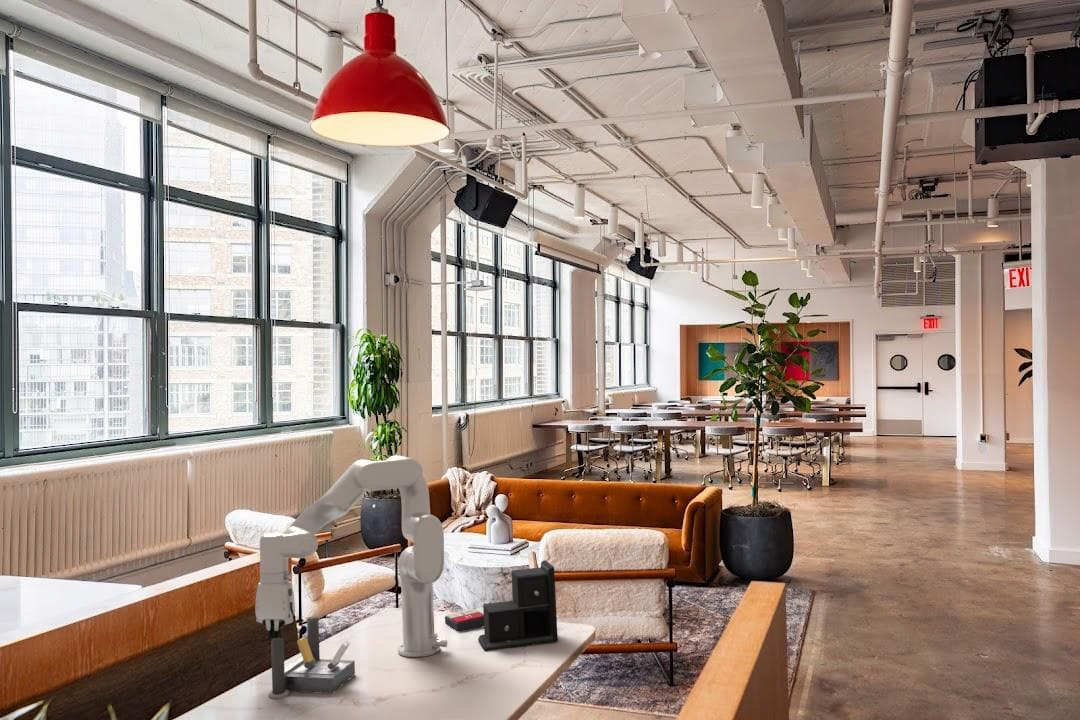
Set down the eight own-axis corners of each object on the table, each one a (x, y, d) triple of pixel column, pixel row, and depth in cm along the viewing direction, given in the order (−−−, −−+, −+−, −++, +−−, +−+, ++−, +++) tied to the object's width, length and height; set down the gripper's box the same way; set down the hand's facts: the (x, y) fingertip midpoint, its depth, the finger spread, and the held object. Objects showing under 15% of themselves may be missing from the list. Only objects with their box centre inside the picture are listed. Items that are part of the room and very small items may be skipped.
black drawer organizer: (483, 652, 256) (481, 573, 257) (477, 641, 267) (475, 566, 267) (558, 643, 262) (555, 566, 262) (549, 633, 272) (547, 559, 273)
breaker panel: (354, 674, 240) (354, 657, 240) (332, 693, 226) (332, 675, 226) (302, 672, 243) (302, 655, 243) (277, 690, 229) (277, 672, 229)
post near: (292, 692, 228) (290, 636, 228) (282, 699, 223) (281, 642, 223) (275, 691, 229) (273, 636, 229) (265, 698, 224) (263, 642, 224)
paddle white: (337, 665, 235) (351, 643, 234) (331, 670, 232) (345, 647, 231) (332, 662, 235) (346, 639, 235) (326, 666, 232) (341, 643, 231)
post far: (326, 666, 247) (324, 615, 248) (318, 672, 243) (316, 620, 243) (310, 666, 248) (308, 615, 249) (302, 672, 244) (300, 620, 244)
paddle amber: (316, 662, 236) (306, 636, 237) (310, 667, 233) (300, 640, 234) (311, 664, 237) (302, 637, 237) (305, 668, 233) (295, 641, 234)
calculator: (444, 614, 287) (484, 604, 294) (445, 626, 287) (485, 617, 294) (456, 621, 277) (498, 611, 284) (457, 635, 277) (499, 624, 284)
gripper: (305, 575, 240) (306, 641, 239) (257, 573, 243) (257, 638, 242) (292, 581, 232) (292, 649, 232) (242, 580, 235) (243, 646, 235)
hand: (275, 643), depth 237 cm, fingers closed
